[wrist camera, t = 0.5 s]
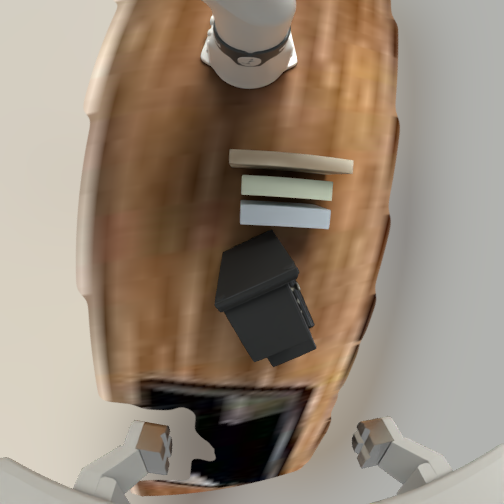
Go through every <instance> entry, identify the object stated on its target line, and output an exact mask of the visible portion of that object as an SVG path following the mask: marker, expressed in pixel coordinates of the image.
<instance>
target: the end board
mask: <svg viewBox="0 0 504 504" xmlns="http://www.w3.org/2000/svg"><path fill="white" fill-rule="evenodd" d="M229 164H230V166H231V168H251V169H268V170H282V171H294V172H305V173H316V174H325V175H326V174H353V160H346V159H339V158H332V157H324V156H315V155H306V154H296V153H285V152H273V151H258V150H239V149H230V152H229Z"/></svg>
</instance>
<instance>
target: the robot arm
mask: <svg viewBox="0 0 504 504" xmlns="http://www.w3.org/2000/svg"><path fill="white" fill-rule="evenodd" d="M202 1H203V2H205V3H206V4H207V5H208V6H209V7H210V8H211V10H212V13H213V15H212V17H211V20H210V25H212V27H211V29H209V31H208V37H207V40H206V42H205V45H204V47H203V50H202V53H201V60H202V61H203V62H204V63H206V64H208V65H210V66H211V67H212V68H213V69H214V70H215V72H216V73H217V75H218V76H219V77H220V78H221V79H222V80H224V81H225V82H227V83H228V84H230V85H233V86H235V87H239V88H245V89H253V88H260V87H263V86H266V85H268V84H270V83H272V82H274V81H275V80H276V79H277V78H278V77H279V76H280V75H281V74H282V73H283V72H284V71H285V70H287V69H290V68H292V67H294V66H295V65H296V64H297V56H296V52H295V47H294V43H293V39H292V35H291V25H290V24H291V22H292V19H293V16H294V13H295V10H296V0H202ZM207 51H208V53H207ZM291 56H292V57H291ZM357 429H358V431H356V432H355V433H354V435H353V437H352V447H353V450H354V452H356V453H357V454H359V455H358V457H357V459H358V462H359V464H360V467H361V468H366V467H371V466H375V465H378V466H379V467H380V468H381V469H383V470H384V471H385V472H387V473H388V474H389V475H391V476H392V477H393V478H395V479H396V480H398V481H399V482H400V483H402V484H403V486H402V487H401V488H400V489H399V491H398V492H397V495H396V496H393V497H390V498H387V499H384V500H380V501H377V502H374V503H370V504H504V444H500V445H498V446H497V447H495V448H494V449H492V450H490V451H489V452H487V453H486V454H484V455H482V456H481V457H479V458H477V459H475V460H474V461H472V462H470V463H468V464H466V465H465V466H463V467H461V468H459V469H457V470H455V471H453V470H452V468H451V467H450V465H449V464H448V462H447V461H446V459H445V458H444V456H443V455H442V454H439V453H437V452H435V451H433V450H431V449H429V448H426V447H425V446H423V445H421V444H418V443H416V442H414V441H412V440H410V439H408V438H404V437H403V436H402V434H401V432H400V431H399V429H398V427H397V426H396V424H395V422H394V421H393V419H392V418H391V417H390V416H387V417H382V418H376V419H372V420H367V421H361V422H359V423H358V425H357ZM169 432H170V429H169V426H166V425H160V424H154V423H149V422H143V421H138V420H134V421H133V422H132V424H131V427H130V429H129V431H128V434H127V437H126V439H125V442H124V445H123V446H118V447H117V448H115V449H113V450H112V451H110V452H109V453H107V454H106V455H104V456H102V457H100V458H99V459H97V460H95V461H94V462H92V463H90V464H89V465H87V466H85V467H84V468H82V470H81V472H80V474H79V476H78V479H77V481H76V483H75V485H74V488H73V489H72V488H69V487H67V486H64V485H62V484H60V483H57V482H55V481H53V480H51V479H49V478H46V477H44V476H42V475H40V474H38V473H36V472H34V471H32V470H30V469H28V468H27V467H25V466H23V465H21V464H19V463H18V462H16V461H14V460H12V459H10V458H7V457H5V458H0V504H130V503H129V501H128V500H127V498H126V497H125V495H124V494H125V493H126V492H127V491H128V490H130V489H131V488H132V487H133V486H134V485H135V484H136V483H138V482H139V481H140V480H141V479H142V478H143V477H144V476H145V475H147V474H148V473H155V474H162V475H167V473H168V467H169V461H168V458H169V457H170V456H171V453H172V439H171V437H170V436H169ZM147 472H148V473H147Z"/></svg>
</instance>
